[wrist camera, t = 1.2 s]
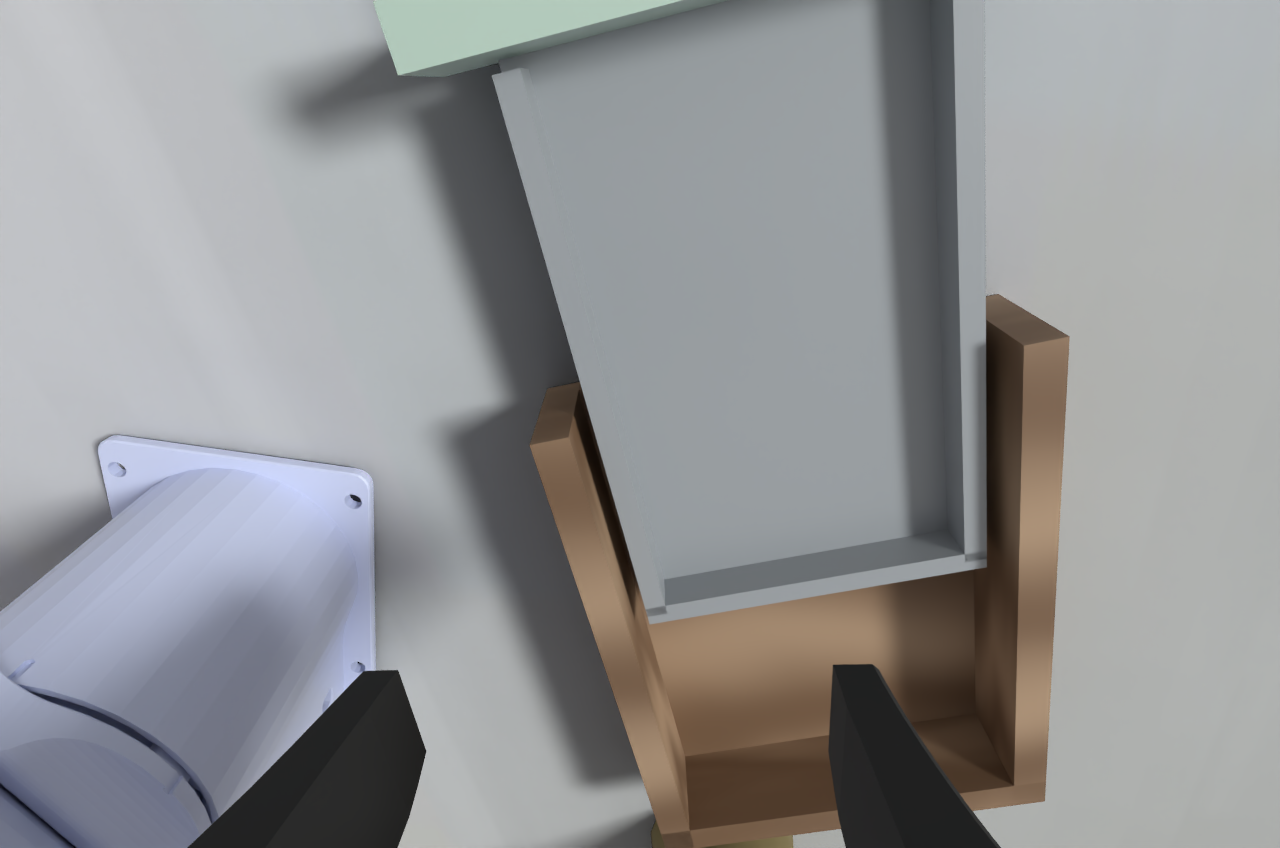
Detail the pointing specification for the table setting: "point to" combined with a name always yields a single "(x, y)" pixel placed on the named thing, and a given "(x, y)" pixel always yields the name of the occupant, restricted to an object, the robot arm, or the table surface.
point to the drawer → (756, 272)
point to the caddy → (835, 631)
